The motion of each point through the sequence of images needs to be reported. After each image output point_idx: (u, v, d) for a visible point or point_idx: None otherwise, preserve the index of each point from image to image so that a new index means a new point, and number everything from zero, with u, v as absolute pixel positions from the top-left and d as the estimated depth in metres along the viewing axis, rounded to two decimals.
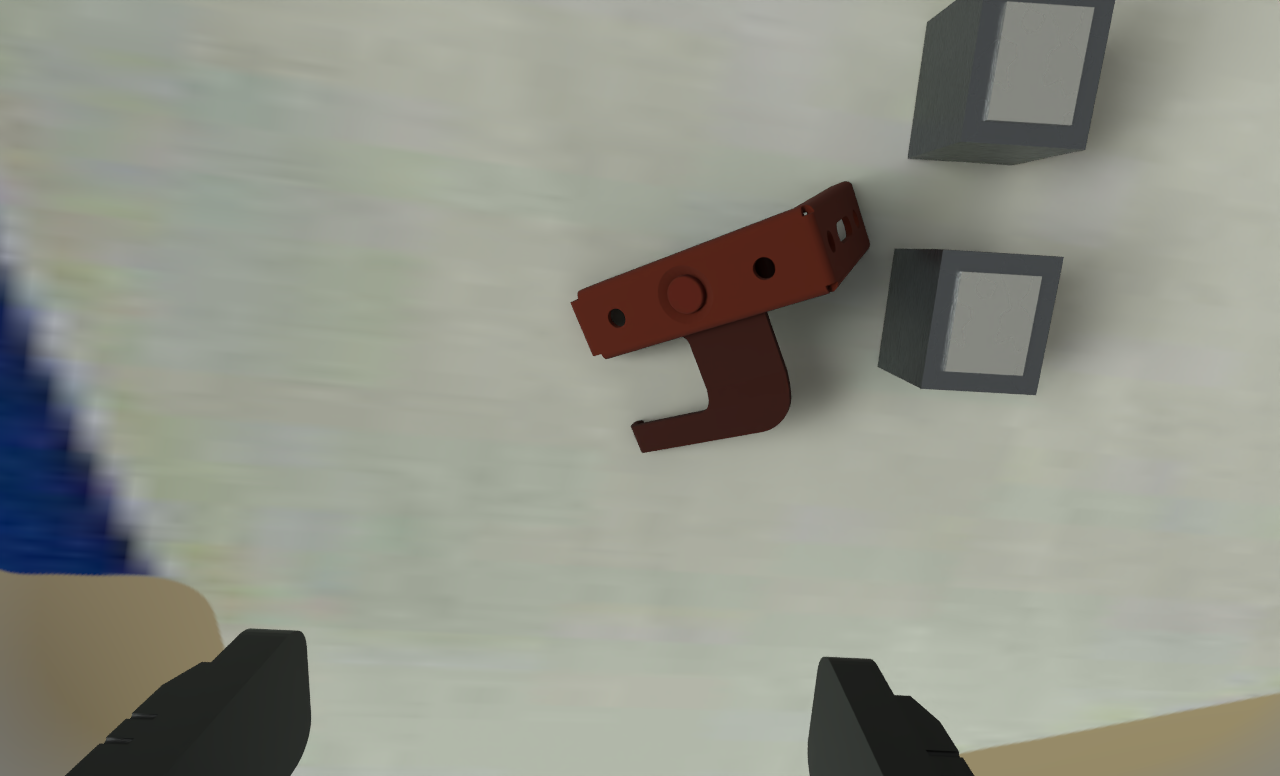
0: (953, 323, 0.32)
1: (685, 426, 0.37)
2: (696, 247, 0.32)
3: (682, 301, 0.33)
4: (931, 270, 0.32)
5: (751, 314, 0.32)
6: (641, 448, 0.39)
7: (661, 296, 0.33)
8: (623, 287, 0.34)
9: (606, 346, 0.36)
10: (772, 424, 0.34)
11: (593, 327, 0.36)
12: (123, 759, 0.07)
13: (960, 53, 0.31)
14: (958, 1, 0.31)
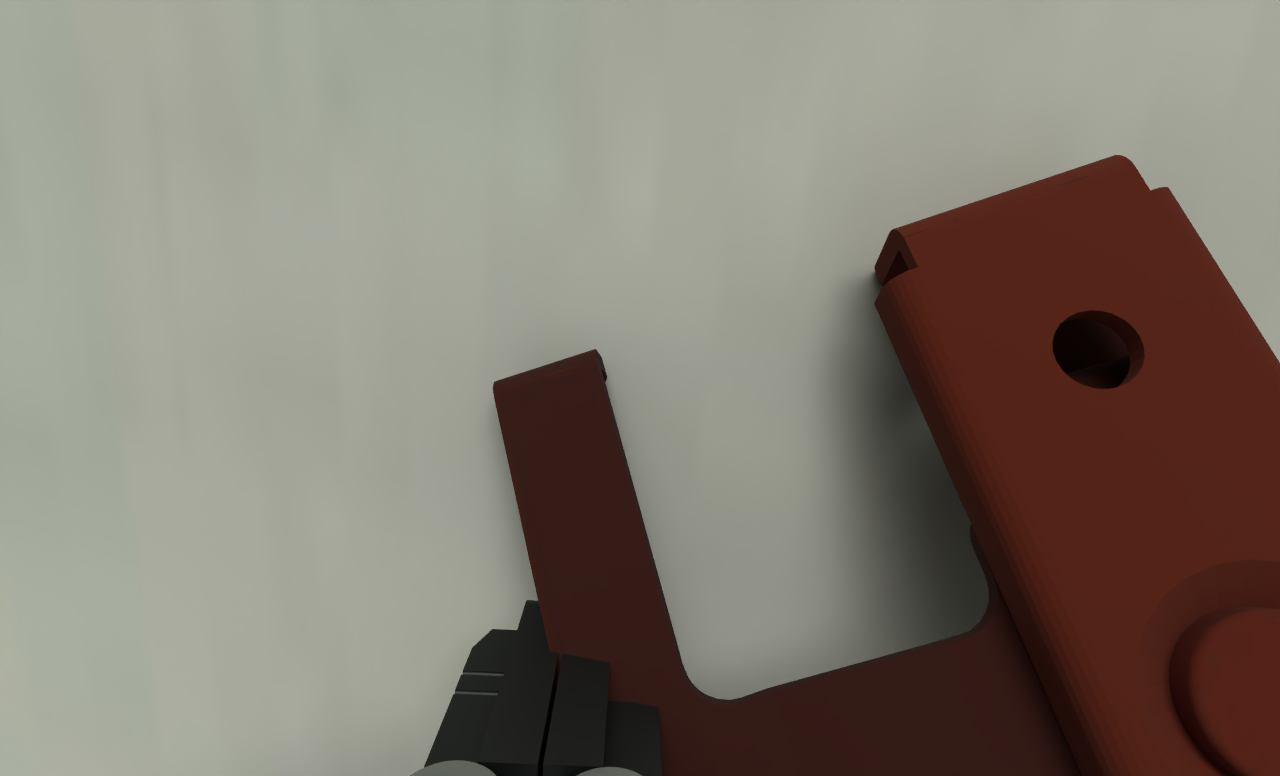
0: None
1: (614, 587, 0.09)
2: None
3: (1260, 688, 0.07)
4: None
5: None
6: (509, 385, 0.10)
7: (1246, 573, 0.08)
8: (1256, 395, 0.08)
9: (955, 291, 0.09)
10: None
11: (1033, 242, 0.09)
12: (505, 703, 0.08)
13: None
14: None
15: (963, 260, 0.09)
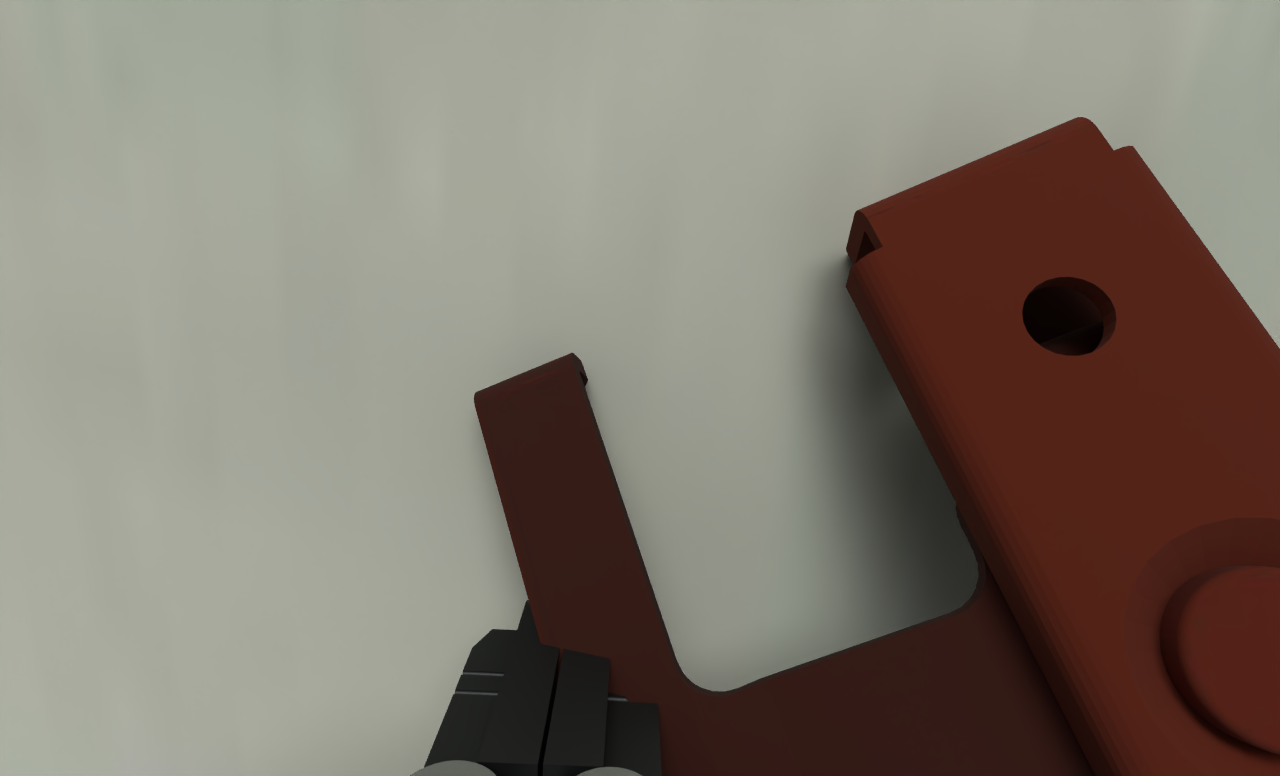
0: None
1: (603, 588, 0.09)
2: None
3: (1250, 647, 0.07)
4: None
5: None
6: (490, 395, 0.11)
7: (1231, 532, 0.08)
8: (1233, 350, 0.08)
9: (921, 268, 0.09)
10: None
11: (997, 213, 0.09)
12: (505, 703, 0.08)
13: None
14: None
15: (928, 236, 0.09)
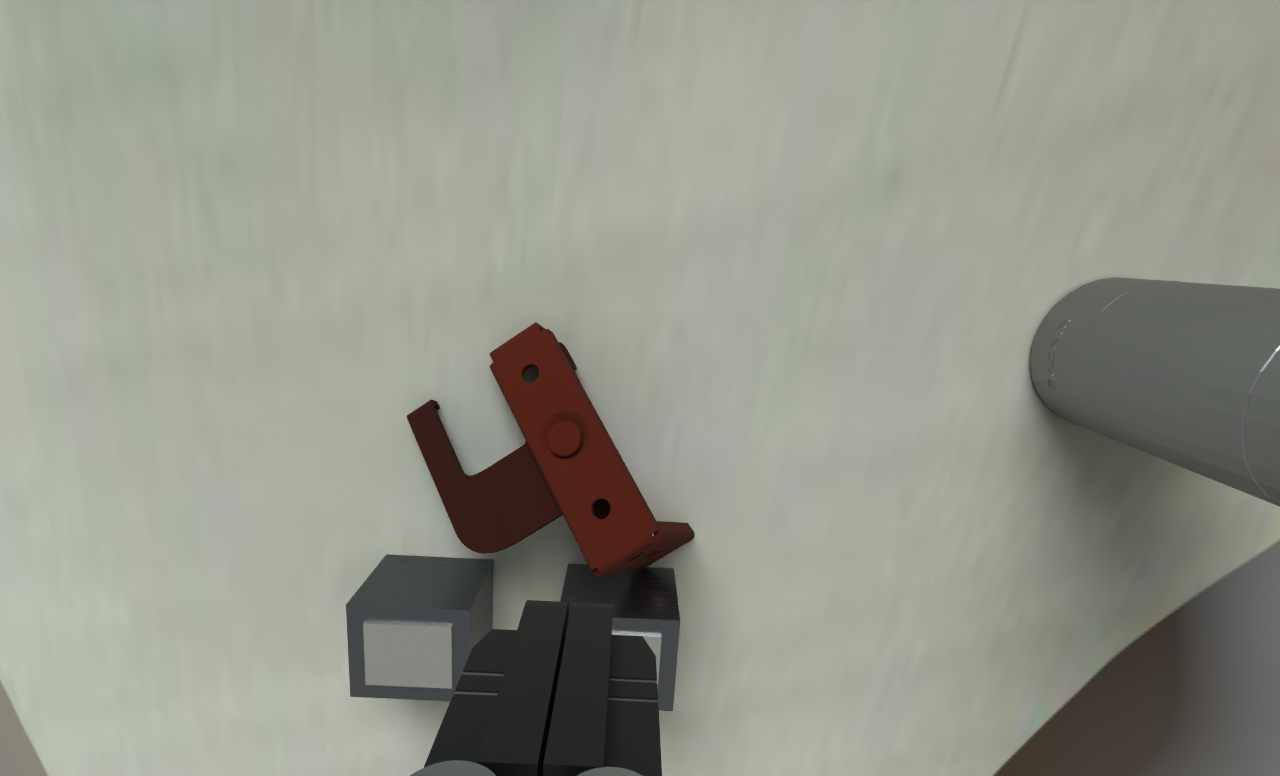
0: (406, 625, 0.36)
1: (443, 456, 0.38)
2: (607, 441, 0.35)
3: (558, 437, 0.35)
4: (456, 600, 0.37)
5: (559, 504, 0.35)
6: (411, 415, 0.39)
7: (558, 415, 0.36)
8: (559, 376, 0.36)
9: (501, 366, 0.37)
10: (464, 541, 0.36)
11: (516, 350, 0.37)
12: (505, 703, 0.08)
13: (631, 604, 0.38)
14: (674, 596, 0.39)
15: (502, 358, 0.37)
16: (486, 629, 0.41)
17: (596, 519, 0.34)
